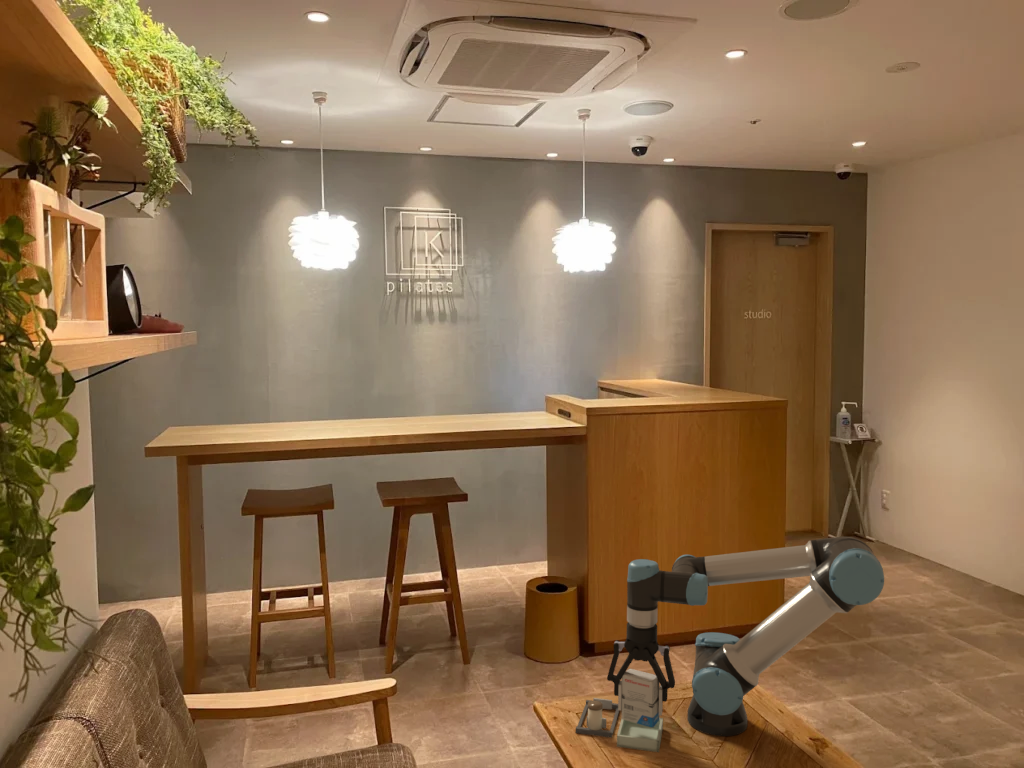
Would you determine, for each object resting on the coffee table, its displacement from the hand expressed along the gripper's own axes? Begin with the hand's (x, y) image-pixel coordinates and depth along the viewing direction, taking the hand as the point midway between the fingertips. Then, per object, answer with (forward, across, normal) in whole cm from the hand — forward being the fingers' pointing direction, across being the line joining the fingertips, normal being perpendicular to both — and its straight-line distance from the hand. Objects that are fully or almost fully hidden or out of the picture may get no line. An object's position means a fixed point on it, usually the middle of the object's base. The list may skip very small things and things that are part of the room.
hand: (640, 710), depth 206 cm
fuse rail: (+7, +11, -6) cm, 15 cm away
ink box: (+3, 0, 0) cm, 3 cm away
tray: (+7, 0, 0) cm, 7 cm away
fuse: (+7, +11, 0) cm, 13 cm away
